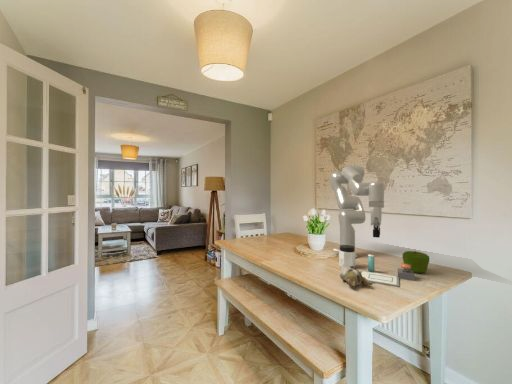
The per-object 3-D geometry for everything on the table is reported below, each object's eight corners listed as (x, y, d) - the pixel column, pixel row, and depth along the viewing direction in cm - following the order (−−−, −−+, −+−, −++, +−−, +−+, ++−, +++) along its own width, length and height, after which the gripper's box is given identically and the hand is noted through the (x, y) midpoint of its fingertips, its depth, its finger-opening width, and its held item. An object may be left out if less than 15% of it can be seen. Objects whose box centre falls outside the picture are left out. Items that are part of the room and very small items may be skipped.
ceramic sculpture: (352, 260, 122) (374, 271, 108) (351, 277, 123) (373, 290, 108) (334, 262, 119) (354, 273, 105) (333, 279, 120) (353, 293, 105)
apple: (434, 276, 125) (434, 254, 125) (408, 274, 127) (407, 253, 127) (422, 268, 137) (422, 248, 137) (399, 267, 140) (398, 247, 140)
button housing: (397, 278, 121) (397, 272, 121) (397, 274, 127) (397, 268, 128) (414, 280, 118) (414, 274, 118) (413, 276, 124) (413, 270, 124)
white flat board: (356, 280, 119) (356, 278, 119) (360, 271, 132) (360, 270, 132) (399, 287, 110) (399, 285, 110) (398, 277, 123) (398, 275, 123)
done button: (400, 274, 122) (400, 265, 122) (400, 271, 126) (400, 263, 126) (411, 275, 120) (411, 266, 120) (410, 273, 124) (410, 264, 124)
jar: (336, 265, 144) (336, 245, 144) (347, 264, 146) (347, 244, 146) (346, 269, 135) (346, 248, 135) (358, 268, 138) (358, 247, 138)
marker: (367, 272, 131) (367, 255, 131) (368, 270, 134) (368, 254, 134) (374, 273, 129) (374, 256, 129) (374, 271, 132) (374, 254, 132)
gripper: (369, 204, 142) (370, 233, 142) (367, 205, 127) (368, 237, 127) (384, 204, 139) (384, 234, 138) (383, 205, 123) (384, 239, 123)
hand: (376, 235), depth 132 cm, fingers open, 9 cm apart
